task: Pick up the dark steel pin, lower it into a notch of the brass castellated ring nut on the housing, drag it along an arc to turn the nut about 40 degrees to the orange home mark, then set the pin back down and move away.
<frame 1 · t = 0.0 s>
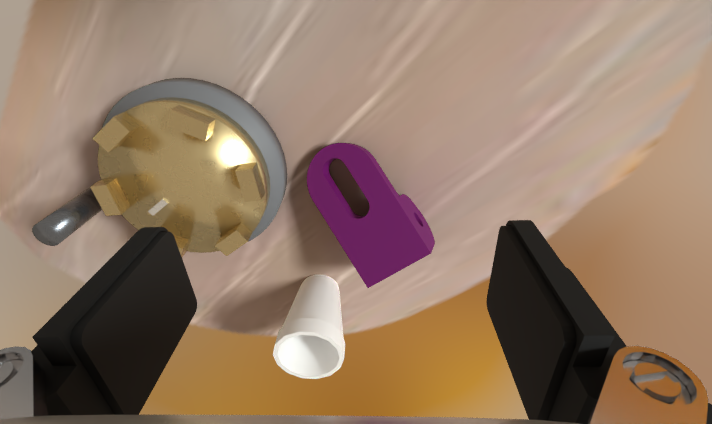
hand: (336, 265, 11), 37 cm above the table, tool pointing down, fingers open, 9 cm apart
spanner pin: (99, 195, 52), on the table
mounting bracket: (365, 194, 51), on the table
ring nut: (184, 185, 45), point 6 cm above the table, hinge at 0.0°
nut housing: (202, 167, 50), on the table
foam cup: (320, 288, 60), on the table
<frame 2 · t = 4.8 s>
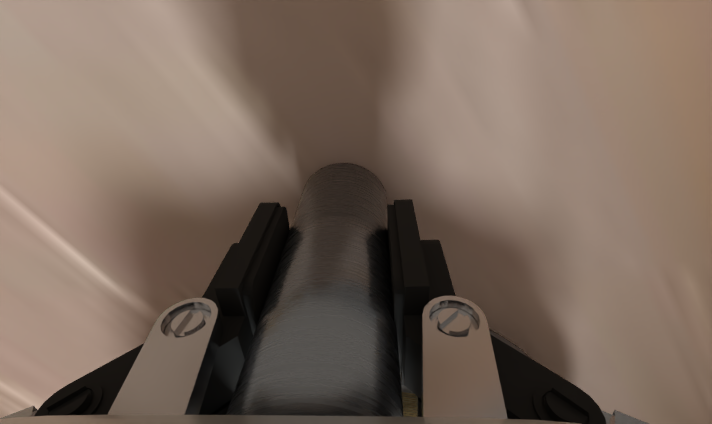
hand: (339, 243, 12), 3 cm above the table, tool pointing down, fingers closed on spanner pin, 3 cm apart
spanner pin: (344, 202, 14), on the table, touching gripper
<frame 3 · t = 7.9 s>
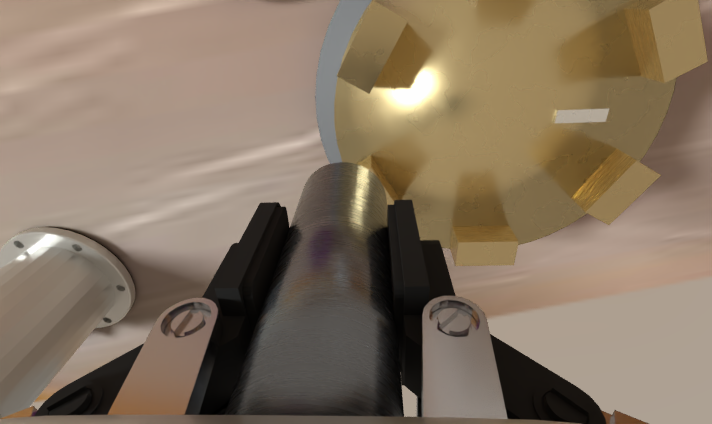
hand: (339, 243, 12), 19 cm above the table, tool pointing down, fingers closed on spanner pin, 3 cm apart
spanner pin: (344, 201, 14), point 16 cm above the table, touching gripper
ring nut: (495, 117, 23), point 6 cm above the table, hinge at 0.0°
nut housing: (473, 96, 27), on the table
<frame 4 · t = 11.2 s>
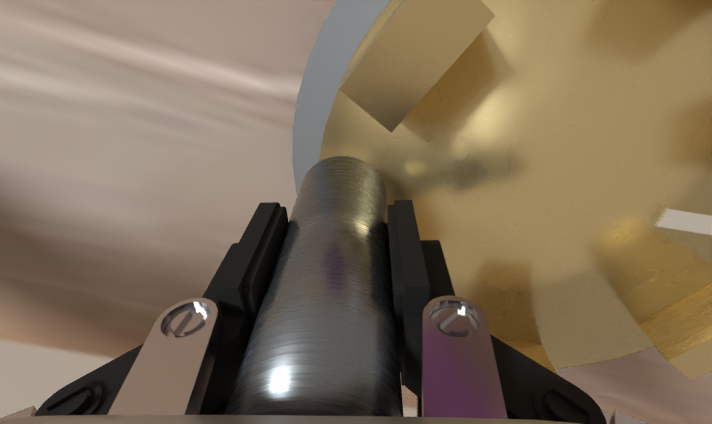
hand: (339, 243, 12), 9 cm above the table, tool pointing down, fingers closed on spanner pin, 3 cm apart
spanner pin: (343, 195, 14), point 6 cm above the table, touching gripper, ring nut
ring nut: (571, 199, 14), point 6 cm above the table, hinge at 18.0°, touching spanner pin
nut housing: (522, 149, 19), on the table
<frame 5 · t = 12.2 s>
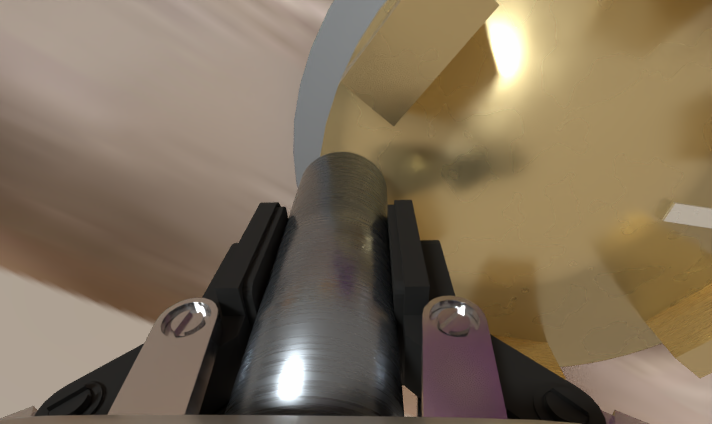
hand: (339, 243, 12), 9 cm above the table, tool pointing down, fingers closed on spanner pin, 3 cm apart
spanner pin: (343, 191, 14), point 6 cm above the table, touching gripper, ring nut
ring nut: (576, 194, 14), point 6 cm above the table, hinge at 34.3°, touching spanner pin
nut housing: (525, 145, 19), on the table
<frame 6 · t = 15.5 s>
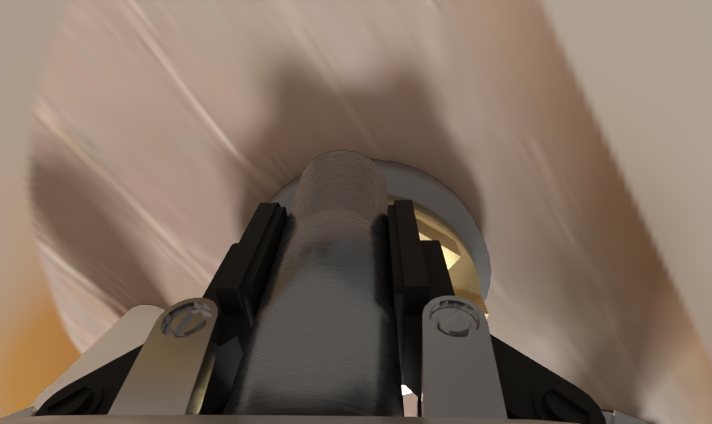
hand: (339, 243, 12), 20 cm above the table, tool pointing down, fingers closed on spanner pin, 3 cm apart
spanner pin: (343, 190, 13), point 17 cm above the table, touching gripper
ring nut: (364, 305, 32), point 6 cm above the table, hinge at 34.4°
nut housing: (365, 265, 37), on the table
foam cup: (154, 323, 43), on the table
when the fingers open (4 cm above the table, at t = 18.0 s): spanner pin drops 1 cm, on the table.
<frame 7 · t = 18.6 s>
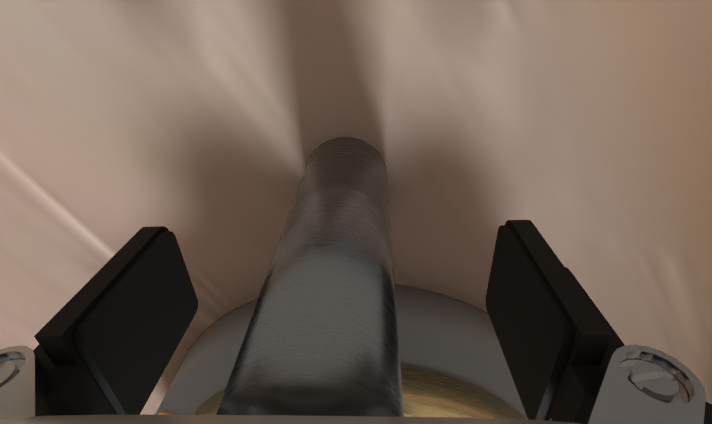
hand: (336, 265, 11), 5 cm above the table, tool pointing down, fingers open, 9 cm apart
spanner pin: (346, 176, 15), on the table
nut housing: (360, 421, 23), on the table
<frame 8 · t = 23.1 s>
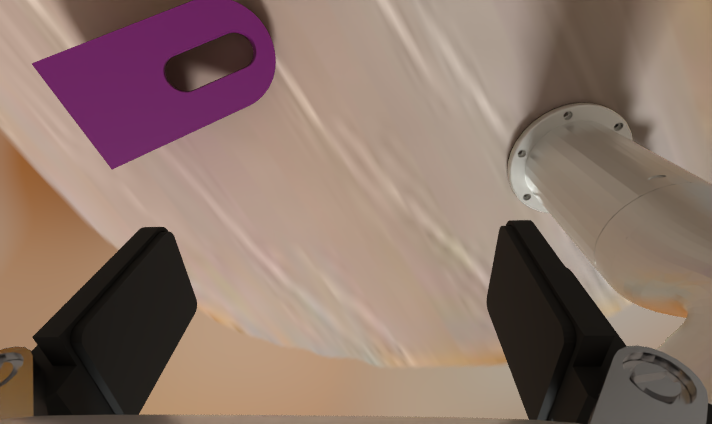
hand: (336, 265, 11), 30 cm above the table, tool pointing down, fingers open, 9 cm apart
mounting bracket: (194, 69, 38), on the table
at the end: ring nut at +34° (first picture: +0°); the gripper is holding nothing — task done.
